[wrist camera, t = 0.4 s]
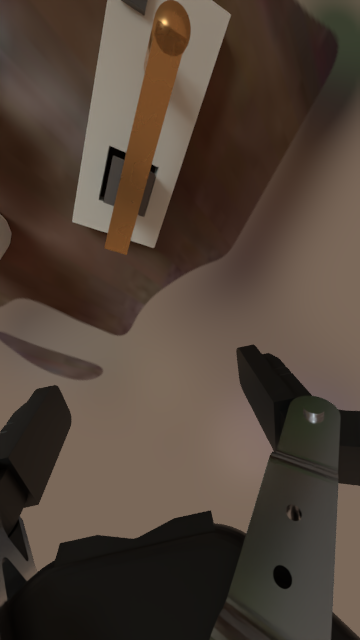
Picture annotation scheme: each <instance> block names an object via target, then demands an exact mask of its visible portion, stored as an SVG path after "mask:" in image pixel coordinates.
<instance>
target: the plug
mask: <svg viewBox="0 0 360 640" xmlns="http://www.w3.org/2000/svg"><path fill="white" fill-rule="evenodd" d="M123 164H124V159H121V158H119V157H117V156H113V158H112V163H111V168H110V173H109V177H108V182H107V187H106V192H105V196H104V201H103V202H104V203H106V204H109V205H112V206H114V203H115V199H116V194H117V190H118V186H119V181H120V177H121V173H122V168H123ZM155 175H156V174H154V173H152V172H151V171H150V172H149V176H148V179H147V183H146V186H145V190H144V194H143V197H142V201H141V204H140V208H139V212H138V215H139V216H142V217H144V213H145V210H146V206H147V203H148V200H149V196H150V193H151V189H152V186H153V182H154V179H155Z"/></svg>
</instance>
